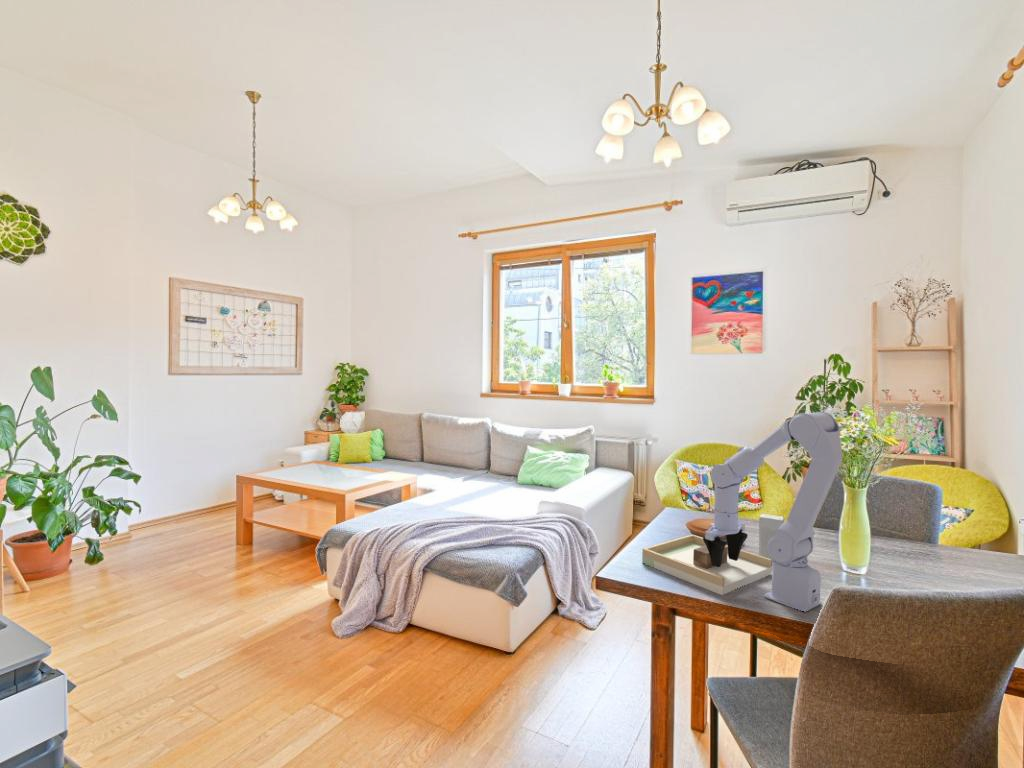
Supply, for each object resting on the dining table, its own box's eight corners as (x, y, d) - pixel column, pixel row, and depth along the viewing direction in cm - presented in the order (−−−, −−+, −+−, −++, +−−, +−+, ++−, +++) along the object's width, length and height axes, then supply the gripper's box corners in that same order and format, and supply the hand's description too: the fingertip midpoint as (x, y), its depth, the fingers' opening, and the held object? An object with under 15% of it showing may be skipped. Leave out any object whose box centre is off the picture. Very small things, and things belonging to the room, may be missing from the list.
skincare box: (783, 558, 146) (784, 516, 145) (782, 563, 142) (783, 520, 142) (759, 554, 149) (760, 513, 148) (758, 559, 145) (759, 516, 145)
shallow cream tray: (771, 574, 134) (771, 559, 134) (721, 595, 122) (722, 578, 121) (691, 547, 154) (692, 534, 154) (642, 563, 141) (642, 548, 141)
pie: (731, 550, 152) (731, 533, 152) (678, 539, 162) (679, 523, 161) (743, 537, 164) (744, 521, 164) (694, 527, 174) (695, 512, 174)
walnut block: (727, 561, 137) (727, 547, 137) (706, 569, 132) (707, 553, 132) (713, 557, 141) (713, 542, 141) (693, 564, 135) (693, 549, 135)
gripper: (728, 502, 140) (726, 552, 140) (695, 511, 132) (694, 563, 132) (752, 508, 134) (751, 560, 135) (720, 517, 126) (718, 572, 126)
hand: (724, 562), depth 133 cm, fingers open, 7 cm apart
